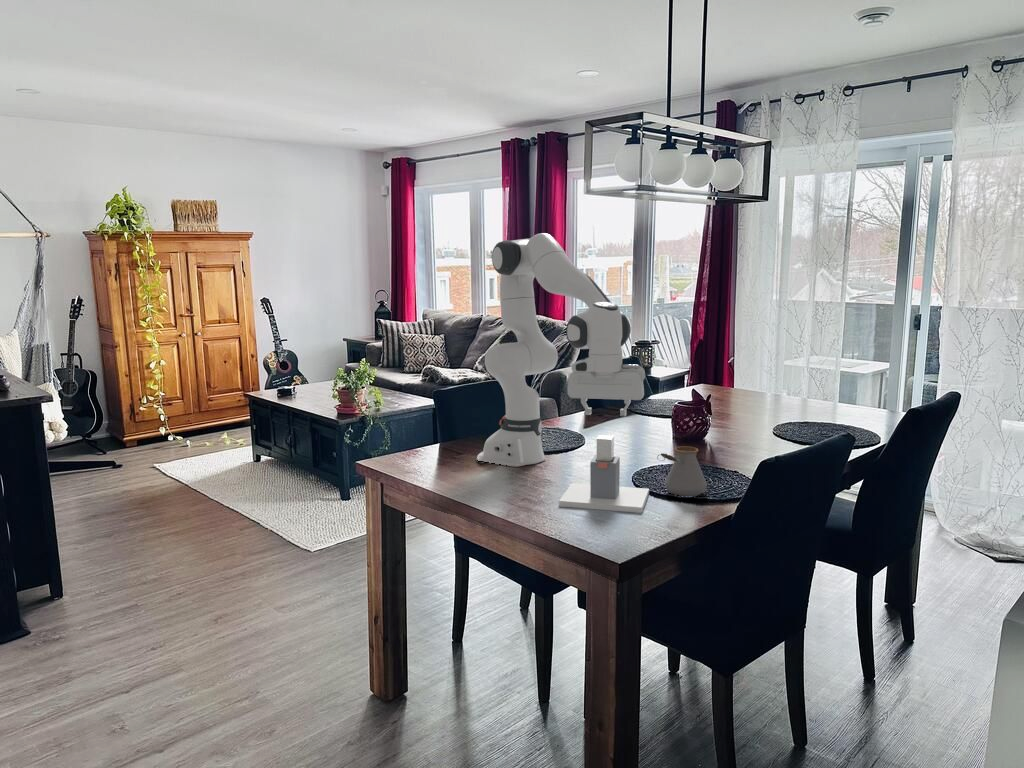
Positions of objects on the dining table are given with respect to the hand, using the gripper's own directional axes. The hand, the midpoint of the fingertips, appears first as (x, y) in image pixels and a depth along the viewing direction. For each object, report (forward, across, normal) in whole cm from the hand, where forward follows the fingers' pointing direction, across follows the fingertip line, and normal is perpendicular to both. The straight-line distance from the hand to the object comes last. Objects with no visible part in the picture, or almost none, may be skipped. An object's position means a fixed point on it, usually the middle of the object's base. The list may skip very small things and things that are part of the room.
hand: (605, 415), depth 196 cm
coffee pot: (+24, -19, -6) cm, 31 cm away
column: (+22, 0, 0) cm, 22 cm away
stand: (+24, 0, 0) cm, 24 cm away
